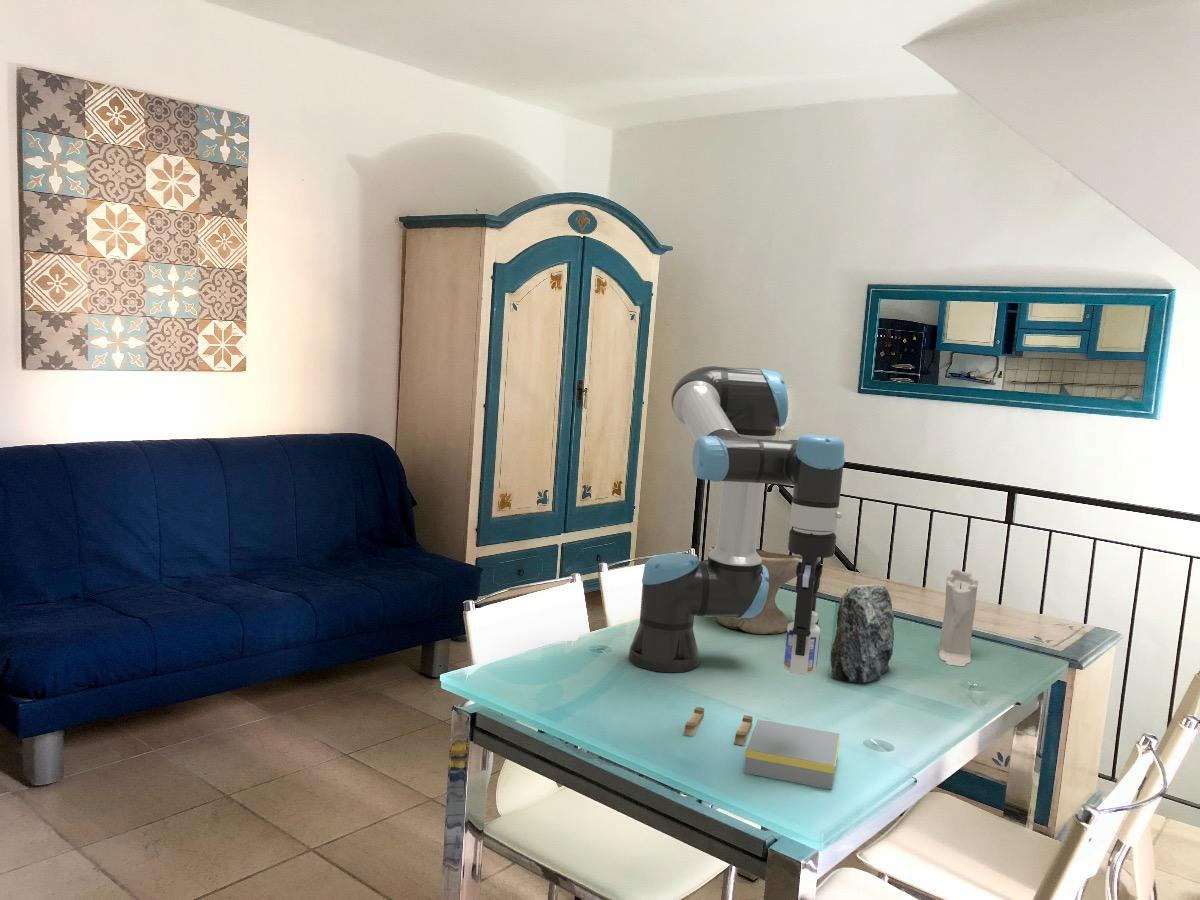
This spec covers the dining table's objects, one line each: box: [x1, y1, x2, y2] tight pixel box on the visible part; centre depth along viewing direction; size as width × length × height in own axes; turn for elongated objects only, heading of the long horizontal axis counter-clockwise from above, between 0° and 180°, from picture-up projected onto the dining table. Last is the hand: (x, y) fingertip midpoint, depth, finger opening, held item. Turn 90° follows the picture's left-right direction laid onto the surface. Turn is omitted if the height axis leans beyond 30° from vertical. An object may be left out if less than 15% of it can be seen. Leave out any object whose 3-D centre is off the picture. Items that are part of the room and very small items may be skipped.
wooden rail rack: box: [683, 706, 753, 746], centre depth 177 cm, size 11×10×2 cm
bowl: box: [708, 546, 802, 635], centre depth 246 cm, size 26×25×20 cm
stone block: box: [830, 583, 895, 684], centre depth 213 cm, size 18×9×20 cm, turn 134°
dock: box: [743, 718, 841, 790], centre depth 164 cm, size 14×14×4 cm
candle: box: [938, 568, 979, 667], centre depth 230 cm, size 7×14×20 cm, turn 161°
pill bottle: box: [783, 609, 821, 675], centre depth 162 cm, size 5×5×10 cm
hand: (800, 667), depth 162 cm, fingers closed on pill bottle, 5 cm apart
